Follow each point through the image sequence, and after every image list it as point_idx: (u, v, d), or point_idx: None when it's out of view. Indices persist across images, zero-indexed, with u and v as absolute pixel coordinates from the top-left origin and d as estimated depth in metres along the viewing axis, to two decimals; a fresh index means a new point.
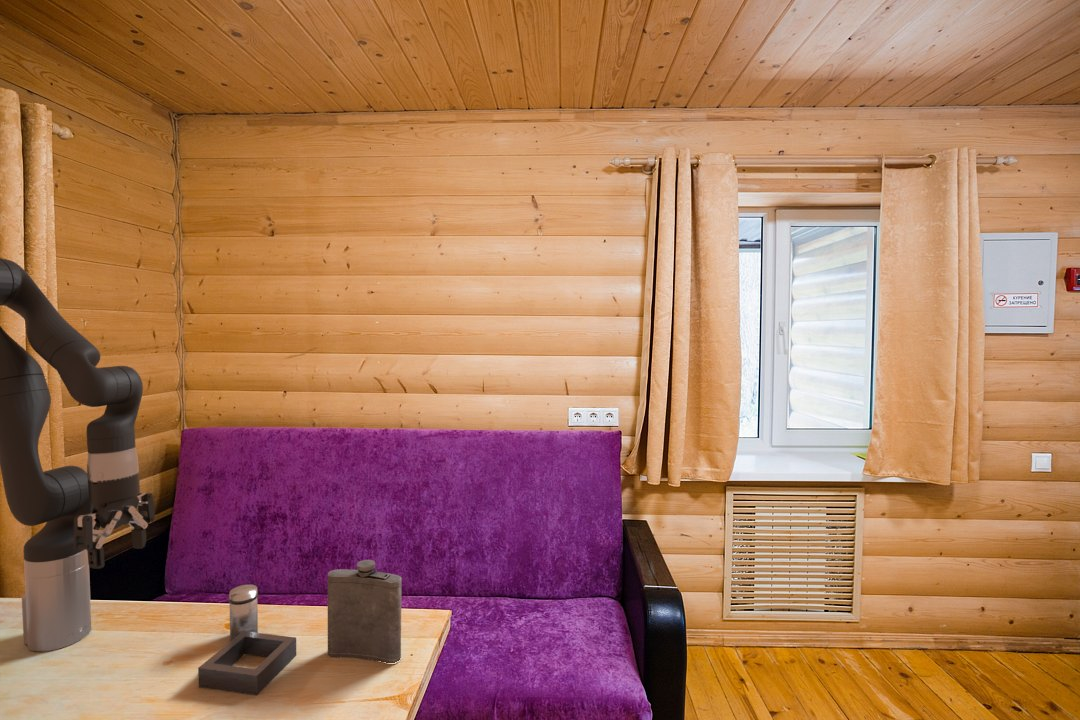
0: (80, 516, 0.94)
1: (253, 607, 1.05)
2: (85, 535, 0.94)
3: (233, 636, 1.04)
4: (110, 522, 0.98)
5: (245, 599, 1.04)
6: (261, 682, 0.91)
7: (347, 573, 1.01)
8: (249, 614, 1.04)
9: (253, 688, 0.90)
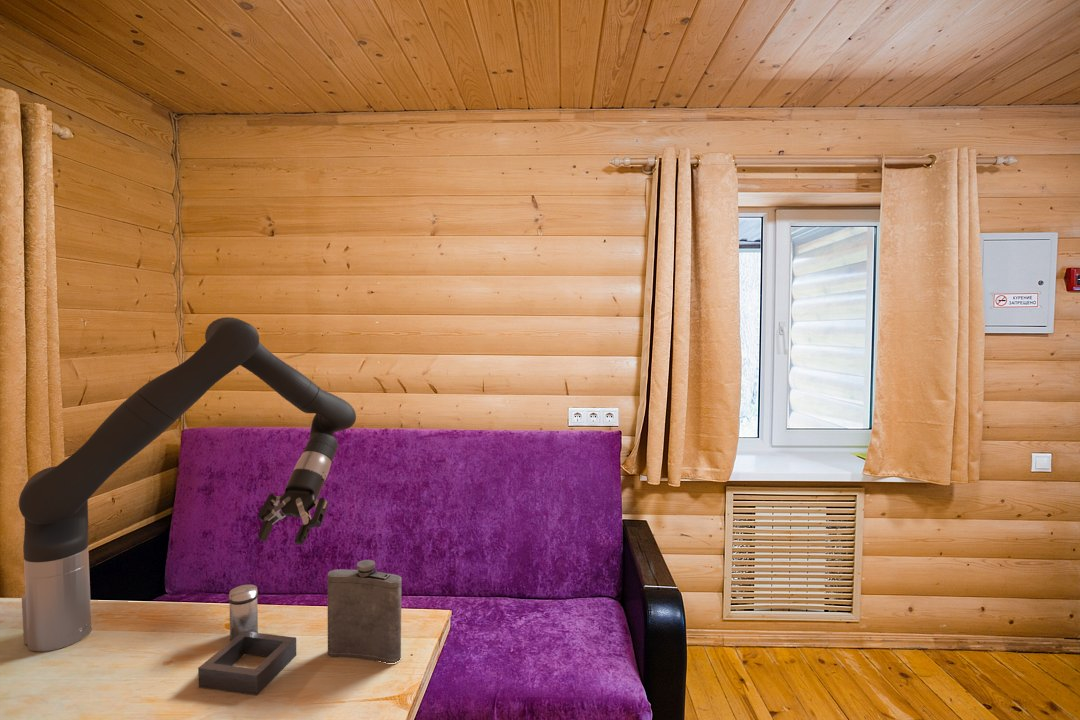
0: None
1: (253, 607, 1.05)
2: None
3: (233, 636, 1.04)
4: (309, 512, 1.22)
5: (245, 599, 1.04)
6: (261, 682, 0.91)
7: (347, 573, 1.01)
8: (249, 614, 1.04)
9: (253, 688, 0.90)
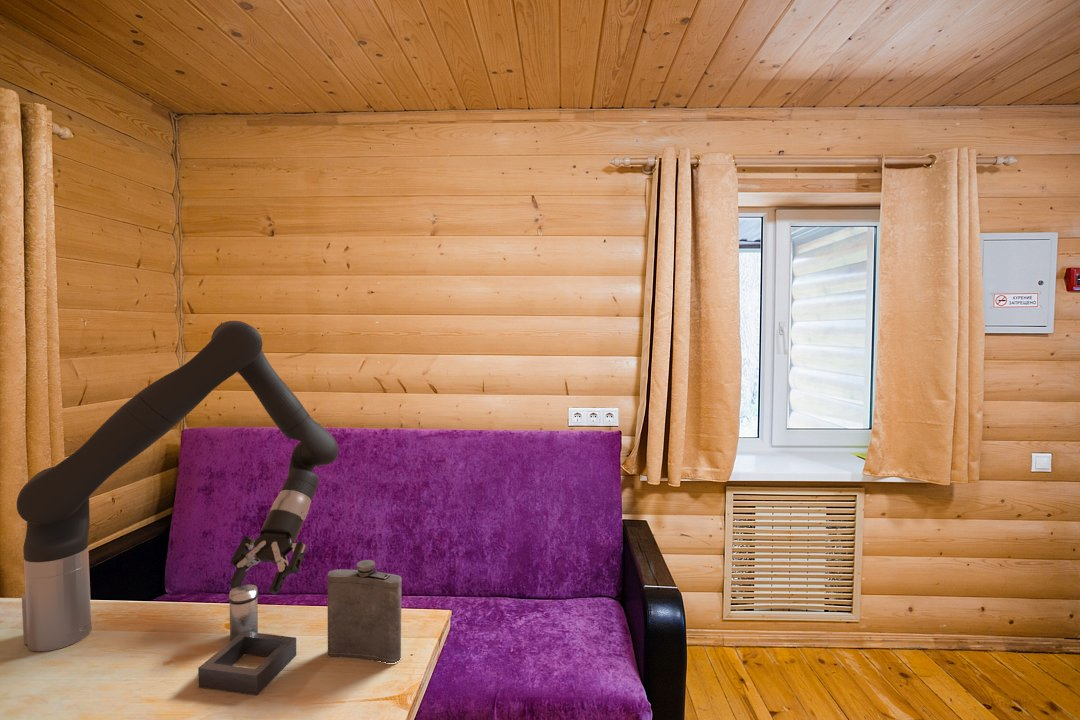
0: None
1: (253, 607, 1.05)
2: (301, 561, 1.13)
3: (233, 636, 1.04)
4: None
5: (245, 599, 1.04)
6: (261, 682, 0.91)
7: (347, 573, 1.01)
8: (249, 614, 1.04)
9: (253, 688, 0.90)
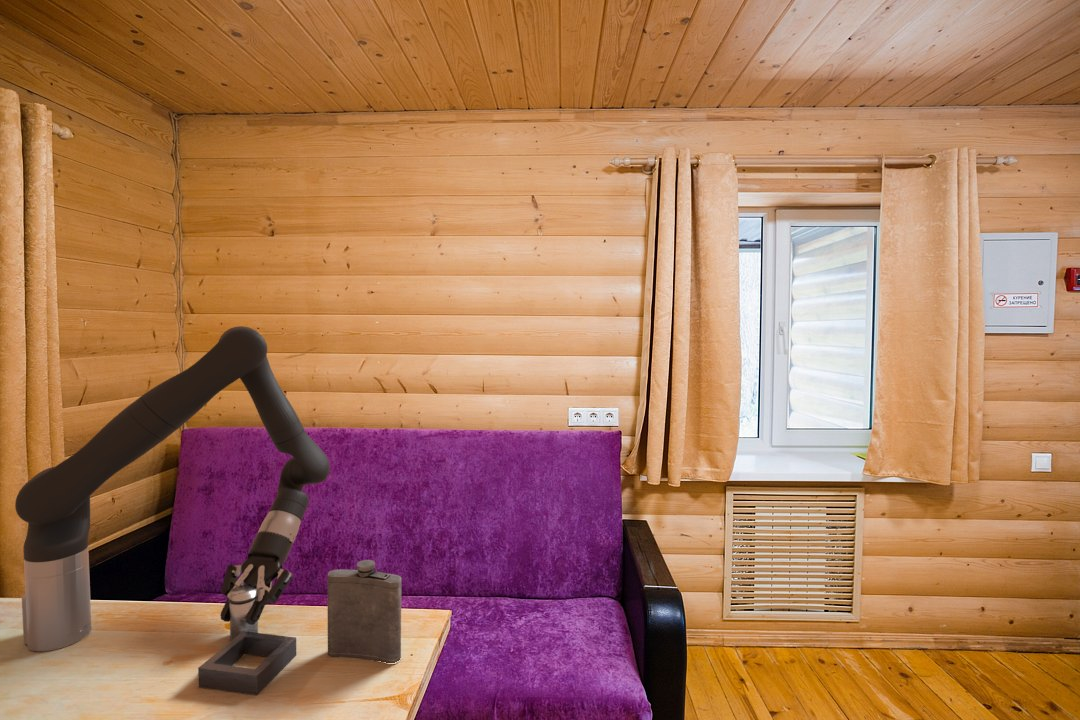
0: (289, 572, 1.09)
1: None
2: (283, 590, 1.08)
3: (233, 636, 1.04)
4: (271, 582, 1.10)
5: (245, 599, 1.03)
6: (261, 682, 0.91)
7: (347, 573, 1.01)
8: None
9: (253, 688, 0.90)
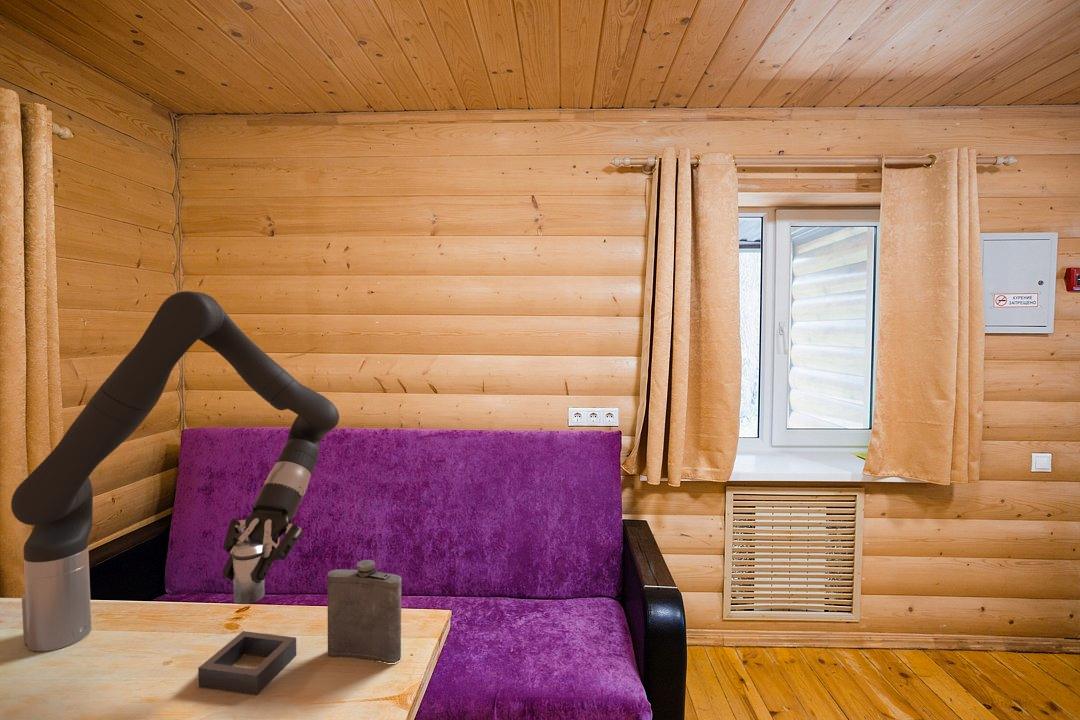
0: (299, 527, 0.98)
1: None
2: (292, 547, 0.97)
3: (237, 596, 0.93)
4: (278, 538, 0.99)
5: (251, 554, 0.93)
6: (261, 682, 0.91)
7: (347, 573, 1.01)
8: None
9: (253, 688, 0.90)
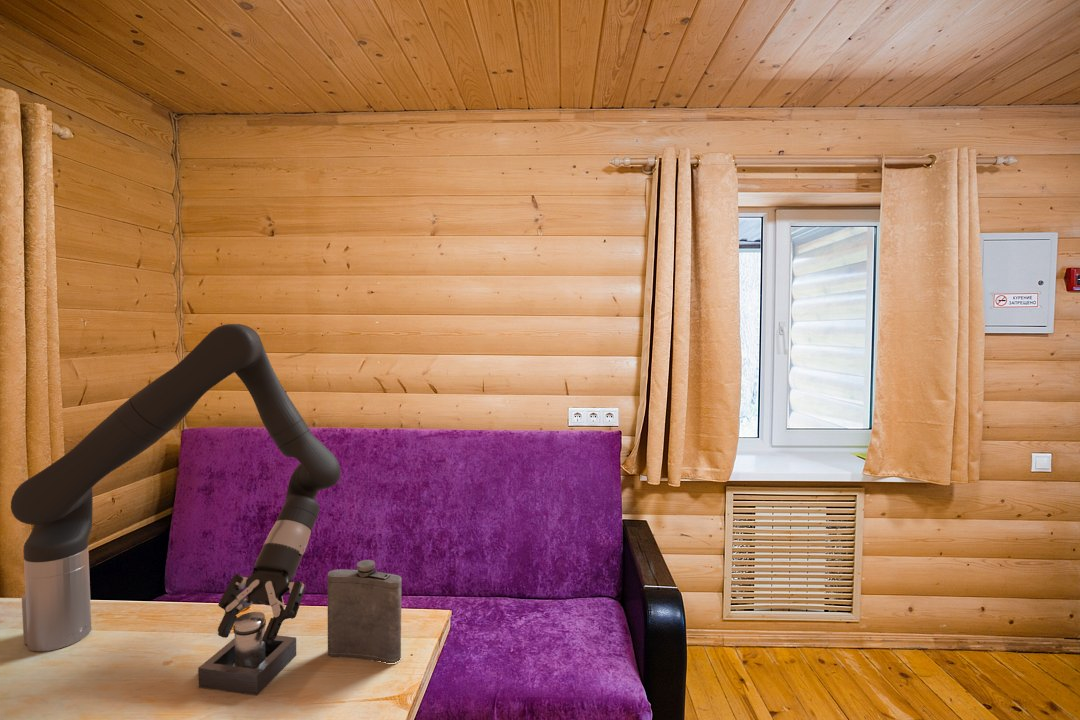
0: (301, 582, 1.00)
1: (260, 637, 0.95)
2: None
3: None
4: (282, 597, 1.00)
5: (252, 629, 0.94)
6: (261, 682, 0.91)
7: (347, 573, 1.01)
8: (256, 646, 0.94)
9: (253, 688, 0.90)
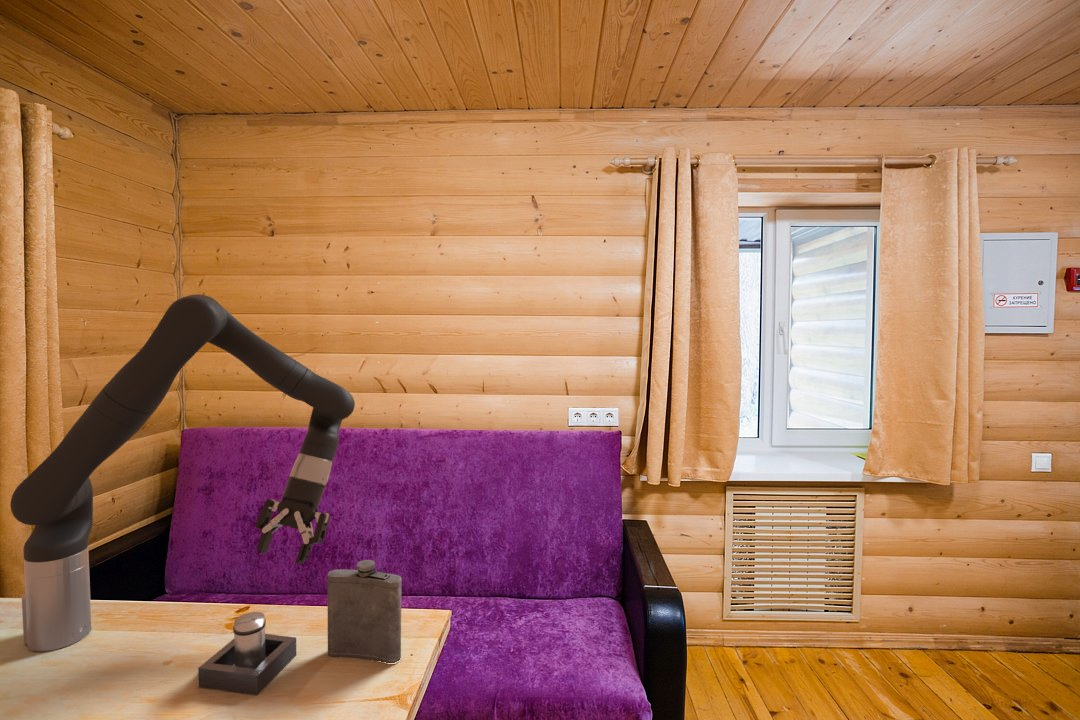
0: (326, 513, 1.11)
1: (260, 637, 0.95)
2: (326, 530, 1.11)
3: None
4: None
5: (252, 629, 0.94)
6: (261, 682, 0.91)
7: (347, 573, 1.01)
8: (256, 646, 0.94)
9: (253, 688, 0.90)
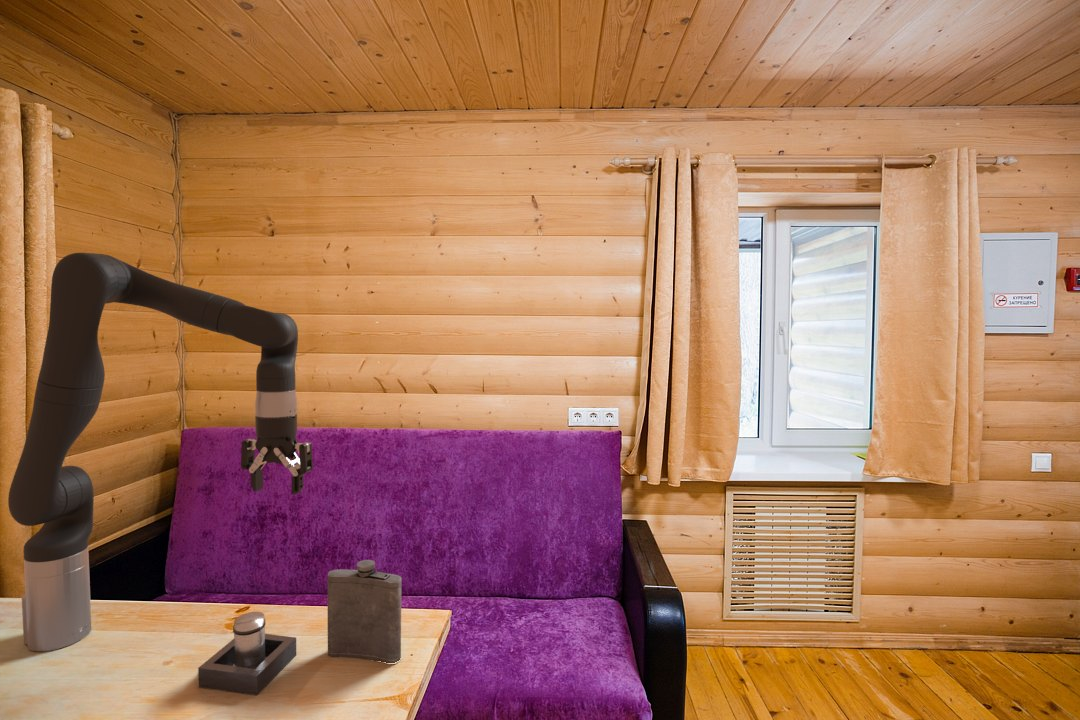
0: (305, 443, 1.06)
1: (260, 637, 0.95)
2: None
3: None
4: (294, 452, 1.09)
5: (252, 629, 0.94)
6: (261, 682, 0.91)
7: (347, 573, 1.01)
8: (256, 646, 0.94)
9: (253, 688, 0.90)
